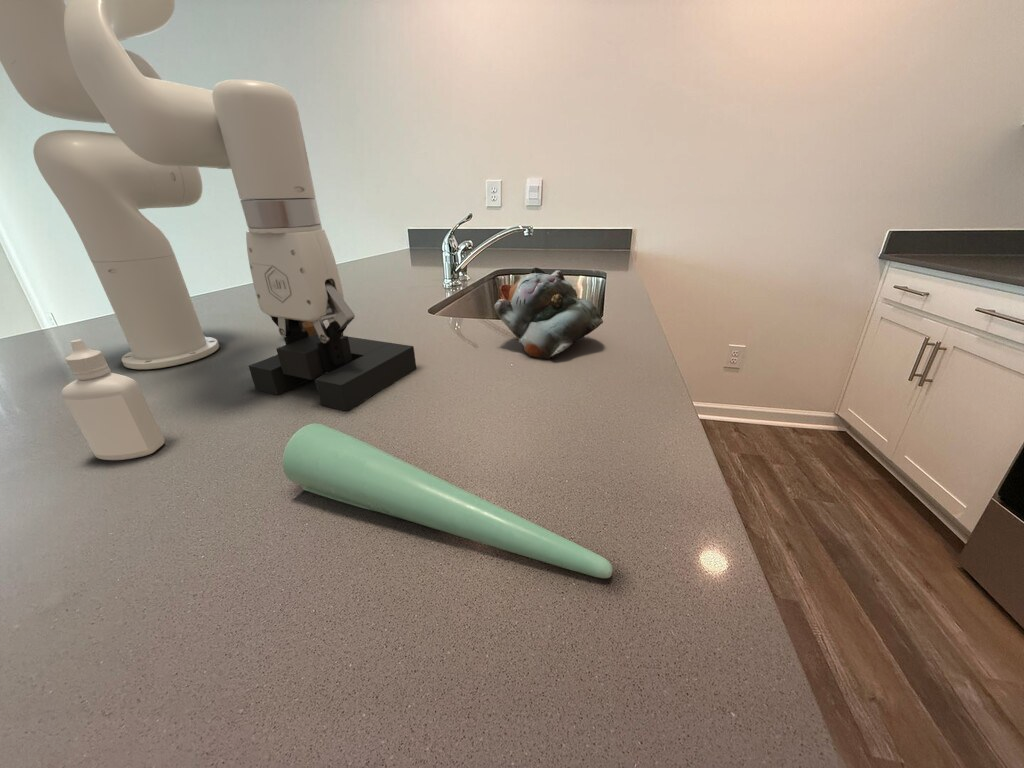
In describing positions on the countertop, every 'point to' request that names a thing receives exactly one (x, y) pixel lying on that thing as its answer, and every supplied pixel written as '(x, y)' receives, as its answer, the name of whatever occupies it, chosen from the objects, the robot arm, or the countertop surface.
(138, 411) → the eye dropper bottle
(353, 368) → the dark grey u-shaped block
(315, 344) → the dark grey block
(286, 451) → the long green cone
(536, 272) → the lucky cat figurine
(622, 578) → the countertop surface
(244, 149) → the robot arm
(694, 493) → the countertop surface
